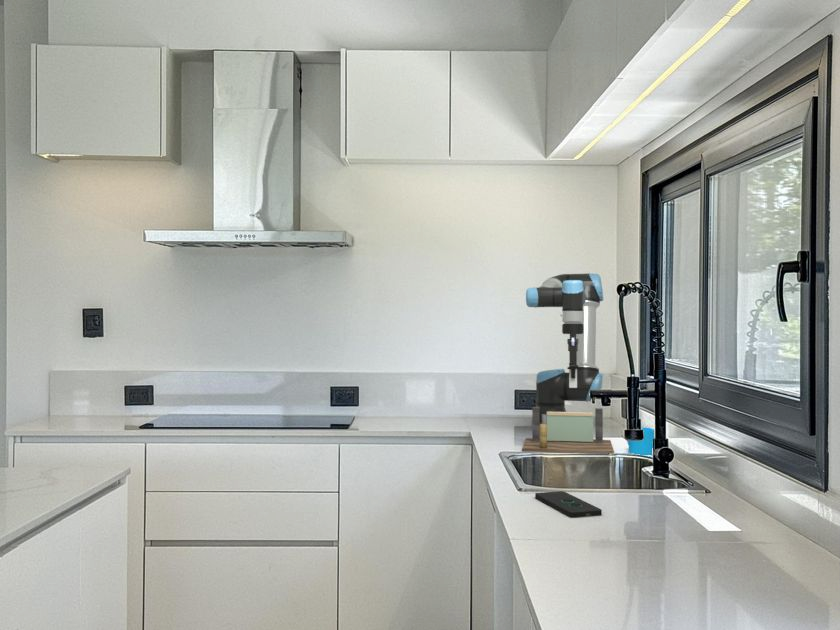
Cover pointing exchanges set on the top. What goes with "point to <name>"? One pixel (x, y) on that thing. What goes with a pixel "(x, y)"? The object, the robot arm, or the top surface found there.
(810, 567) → the top surface
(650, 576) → the top surface
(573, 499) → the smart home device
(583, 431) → the bar
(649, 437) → the mug
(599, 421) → the gate frame
